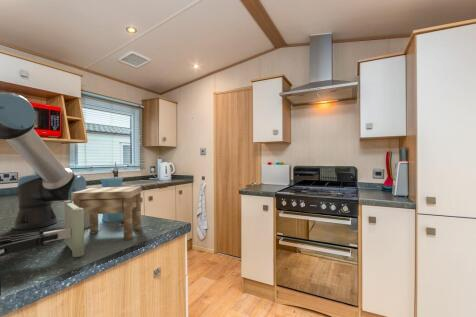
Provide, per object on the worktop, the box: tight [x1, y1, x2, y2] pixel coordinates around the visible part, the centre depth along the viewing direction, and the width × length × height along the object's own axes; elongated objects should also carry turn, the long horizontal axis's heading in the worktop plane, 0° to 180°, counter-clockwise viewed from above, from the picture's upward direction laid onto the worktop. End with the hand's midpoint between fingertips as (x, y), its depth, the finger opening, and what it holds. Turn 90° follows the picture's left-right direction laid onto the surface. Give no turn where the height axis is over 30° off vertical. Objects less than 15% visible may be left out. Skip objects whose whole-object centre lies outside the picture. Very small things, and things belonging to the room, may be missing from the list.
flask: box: [84, 214, 90, 230], centre depth 102 cm, size 7×7×10 cm
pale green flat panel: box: [63, 200, 85, 258], centre depth 76 cm, size 17×3×15 cm, turn 45°
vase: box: [99, 177, 124, 223], centre depth 114 cm, size 8×8×20 cm
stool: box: [71, 185, 143, 241], centre depth 91 cm, size 20×14×18 cm
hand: (70, 232), depth 74 cm, fingers closed
